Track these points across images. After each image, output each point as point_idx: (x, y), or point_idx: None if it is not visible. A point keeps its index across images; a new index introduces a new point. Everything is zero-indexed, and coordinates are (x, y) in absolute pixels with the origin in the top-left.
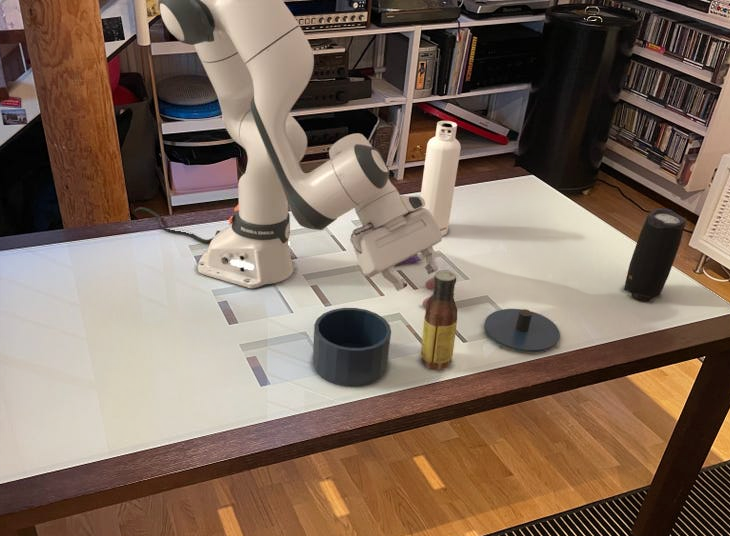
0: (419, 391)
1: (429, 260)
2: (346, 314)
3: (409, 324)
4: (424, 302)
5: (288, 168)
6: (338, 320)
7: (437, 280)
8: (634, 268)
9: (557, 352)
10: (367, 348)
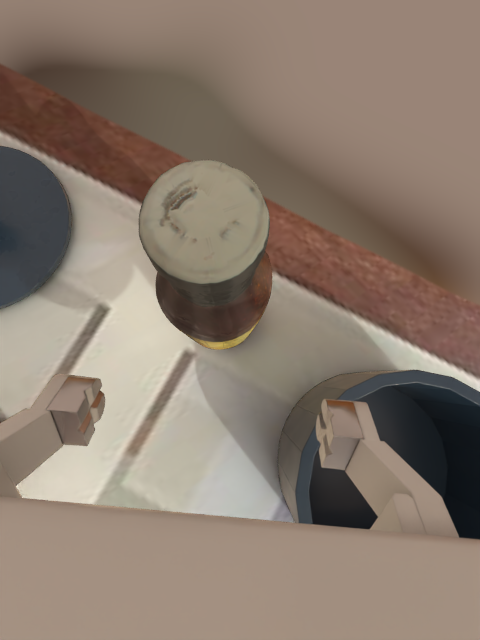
0: (331, 285)
1: (37, 441)
2: None
3: (124, 452)
4: None
5: None
6: None
7: (267, 240)
8: None
9: (13, 143)
10: (469, 390)
